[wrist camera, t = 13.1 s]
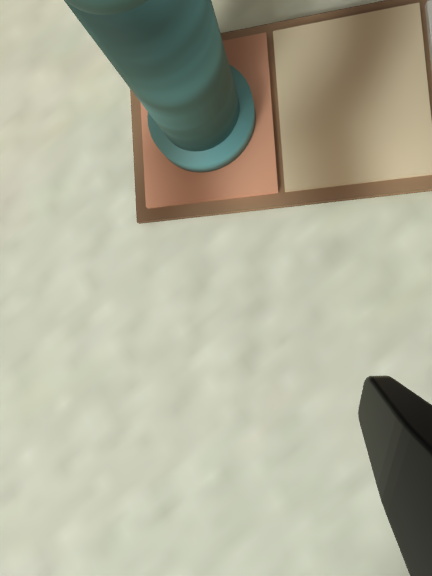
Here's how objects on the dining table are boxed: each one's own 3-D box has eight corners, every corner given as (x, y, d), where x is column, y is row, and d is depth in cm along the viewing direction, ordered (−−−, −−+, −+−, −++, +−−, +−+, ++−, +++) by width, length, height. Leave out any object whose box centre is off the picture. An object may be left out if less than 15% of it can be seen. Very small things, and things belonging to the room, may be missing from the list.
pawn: (272, 87, 18) (226, -302, 7) (232, 186, 18) (119, -28, 7) (177, 60, 19) (-5, -321, 8) (140, 154, 19) (-96, -81, 8)
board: (600, -38, 17) (612, -51, 16) (629, 168, 16) (642, 163, 15) (131, 55, 20) (125, 47, 20) (139, 223, 20) (134, 220, 19)
